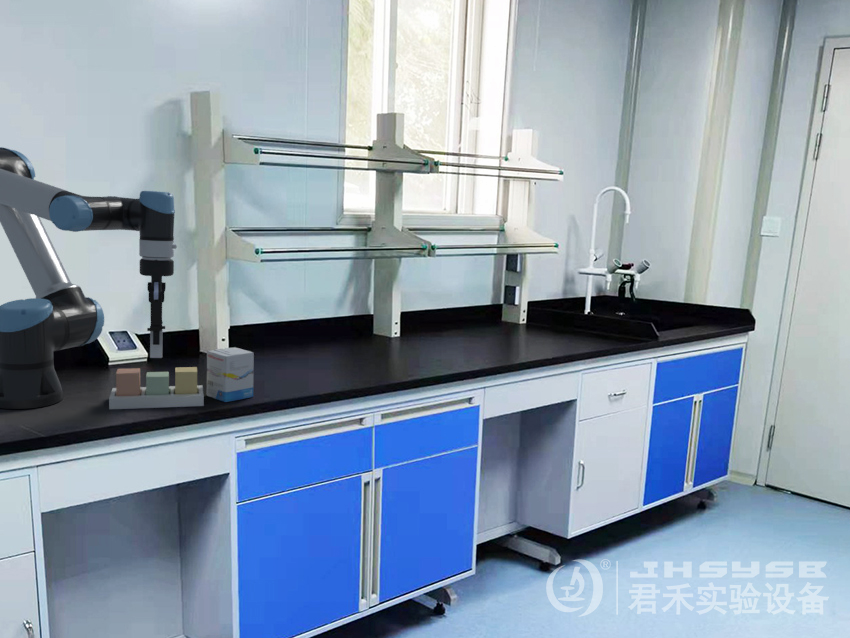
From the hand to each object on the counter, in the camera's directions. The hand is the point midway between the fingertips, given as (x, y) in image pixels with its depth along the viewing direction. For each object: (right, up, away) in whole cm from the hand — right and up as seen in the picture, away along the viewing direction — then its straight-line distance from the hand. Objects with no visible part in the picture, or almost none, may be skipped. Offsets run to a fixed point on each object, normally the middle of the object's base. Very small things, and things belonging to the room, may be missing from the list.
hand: (156, 357), depth 178 cm
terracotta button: (-6, -9, -1) cm, 11 cm away
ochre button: (+6, -9, +3) cm, 11 cm away
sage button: (0, -10, +1) cm, 10 cm away
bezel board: (0, -11, +2) cm, 11 cm away
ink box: (+15, -11, +10) cm, 21 cm away
